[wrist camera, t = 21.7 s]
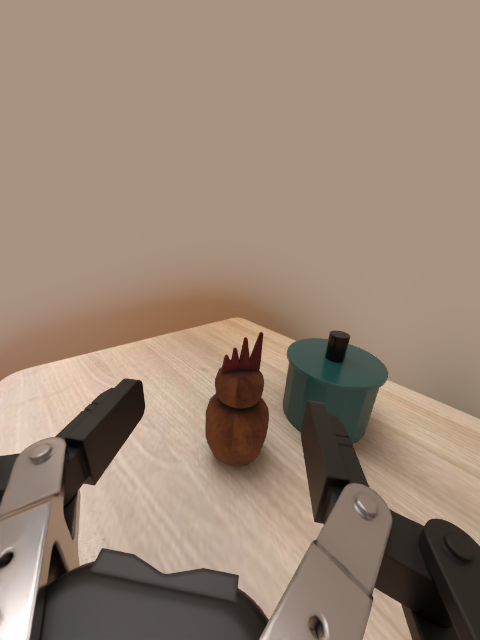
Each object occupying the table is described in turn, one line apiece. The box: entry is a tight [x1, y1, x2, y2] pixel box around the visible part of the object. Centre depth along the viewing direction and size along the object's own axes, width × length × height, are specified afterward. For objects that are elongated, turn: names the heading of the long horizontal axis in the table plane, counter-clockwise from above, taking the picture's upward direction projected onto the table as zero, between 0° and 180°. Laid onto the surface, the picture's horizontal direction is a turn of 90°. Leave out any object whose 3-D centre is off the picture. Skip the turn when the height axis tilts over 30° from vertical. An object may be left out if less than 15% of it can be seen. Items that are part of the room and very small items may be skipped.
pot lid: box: [287, 331, 388, 391], centre depth 30 cm, size 12×12×5 cm
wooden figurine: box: [206, 332, 269, 466], centre depth 24 cm, size 7×6×15 cm
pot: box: [283, 362, 379, 443], centre depth 32 cm, size 11×11×8 cm
